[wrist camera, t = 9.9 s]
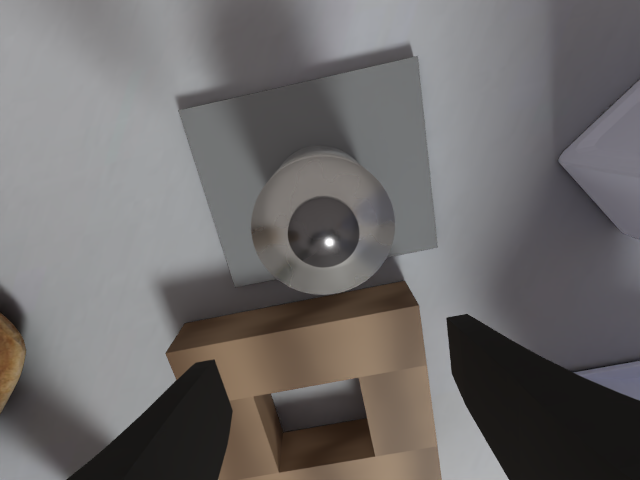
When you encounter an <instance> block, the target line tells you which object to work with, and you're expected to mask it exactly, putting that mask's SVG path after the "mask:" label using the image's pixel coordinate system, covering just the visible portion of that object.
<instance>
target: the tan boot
mask: <svg viewBox="0 0 640 480" xmlns="http://www.w3.org/2000/svg"><path fill="white" fill-rule="evenodd" d="M25 355H26V348H25V343H24V340H23V338H22V336H21V334H20V333H19V331H18V330H17V329H16V327H15V326H14V325H13V324H12V323H11V322H10V321H9V320H8V319H7V318H6V317H5V316H4V315H2V314H1V313H0V414H1V412H2V410H3V409H4V407H5V405H6V403H7V401H8V399H9V397H10V395H11V394H12V392H13V390H14V388H15V386H16V384H17V382H18V380H19V377H20V375H21V372H22V369H23V365H24V360H25Z"/></svg>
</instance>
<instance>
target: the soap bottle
mask: <svg viewBox="0 0 640 480" xmlns="http://www.w3.org/2000/svg"><path fill="white" fill-rule="evenodd" d="M558 161H559V163H560V164H561V165H562V166H563V167H564V168H565V169H566V171H567V172H568V173H569V174H570V175H571V176H572V177H573V178H574V180H575V181H576V182H577V183H578V184H579V185H580V186H581V187H582V188H583V190H584V191H585V192H586V193H587V194H588V195H589V196H590V197H591V199H592V200H593V201H594V202H595V203H596V204H597V205H598V206H599V207H600V209H601V210H602V211H603V212H604V213H605V214H606V215H607V216H608V217H609V219H610V220H611V221H612V222H613V223H614V224H615V225H616V226H617V228H618V229H619V230H620V231H621V232H622V233H623V234H626V235H629V236H631V237H634V238H637V239H640V80H639V81H637V82H636V83H635V84H634V85H633V86H632V87H631V88H630V89H629V90H628V91H627V92H626V93H625V94H624V95H623V96H622V97H621V98H619V99H618V100H617V101H616V102H615V103H614V104H613V105H612V106H611V107H610V108H609V109H608V110H607V111H606V112H605V113H604V114H603V115H601V116H600V117H599V118H598V119H597V120H596V121H595V122H594V123H593V124H592V125H591V126H590V127H589V128H588V129H587V130H586V131H585V132H583V133H582V134H581V135H580V136H579V137H578V138H577V139H576V140H575V141H574V142H573V143H572V144H571V145H570V146H569V147H568V148H566V149H565V150H564V151H563V153H562V154H561V156H560V157H559V160H558Z"/></svg>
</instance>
